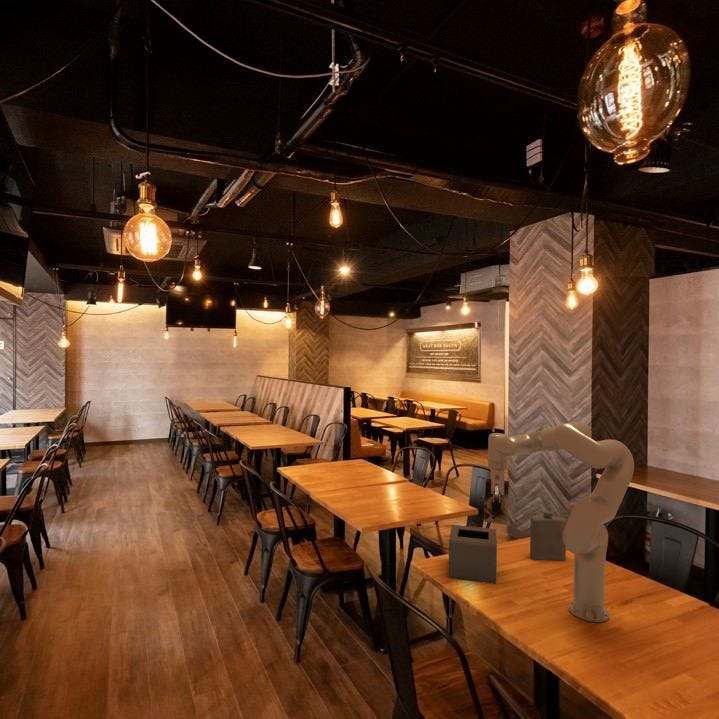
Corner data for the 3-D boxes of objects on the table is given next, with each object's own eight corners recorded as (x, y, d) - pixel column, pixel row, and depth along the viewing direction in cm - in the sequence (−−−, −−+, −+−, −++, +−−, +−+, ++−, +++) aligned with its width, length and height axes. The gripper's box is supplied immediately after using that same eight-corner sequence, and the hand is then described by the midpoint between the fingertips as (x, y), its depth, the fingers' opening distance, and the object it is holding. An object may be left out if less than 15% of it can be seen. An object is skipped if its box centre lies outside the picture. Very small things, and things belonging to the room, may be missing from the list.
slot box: (496, 584, 185) (496, 544, 185) (448, 578, 190) (449, 539, 190) (495, 564, 203) (495, 529, 203) (451, 559, 207) (452, 524, 207)
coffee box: (483, 522, 193) (484, 481, 193) (484, 517, 199) (485, 477, 199) (507, 525, 190) (508, 484, 190) (508, 520, 196) (509, 480, 196)
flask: (561, 555, 214) (562, 510, 214) (567, 561, 208) (568, 514, 208) (527, 555, 214) (528, 509, 214) (532, 560, 208) (533, 514, 208)
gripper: (507, 470, 185) (506, 517, 185) (506, 460, 202) (505, 503, 202) (487, 468, 187) (486, 514, 187) (488, 459, 204) (486, 502, 204)
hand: (496, 508), depth 194 cm, fingers closed on coffee box, 6 cm apart
